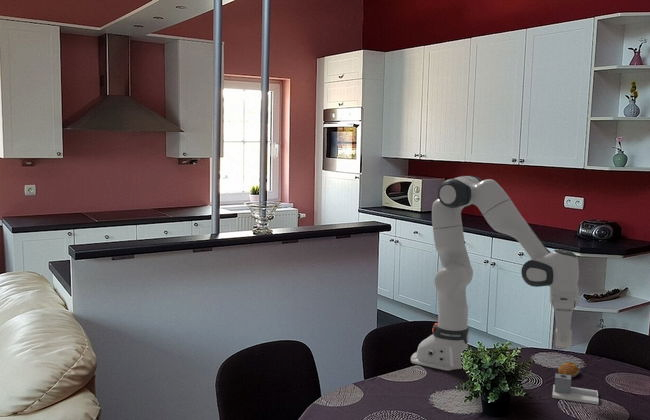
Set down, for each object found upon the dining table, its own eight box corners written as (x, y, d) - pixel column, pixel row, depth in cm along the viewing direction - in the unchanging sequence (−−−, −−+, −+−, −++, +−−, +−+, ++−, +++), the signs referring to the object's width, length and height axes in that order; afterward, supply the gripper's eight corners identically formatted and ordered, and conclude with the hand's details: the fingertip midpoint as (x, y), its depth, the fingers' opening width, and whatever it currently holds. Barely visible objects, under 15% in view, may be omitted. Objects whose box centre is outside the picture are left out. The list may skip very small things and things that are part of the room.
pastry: (573, 380, 220) (573, 370, 220) (553, 376, 224) (554, 366, 224) (580, 373, 228) (580, 363, 228) (561, 369, 232) (561, 359, 232)
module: (555, 346, 206) (555, 329, 205) (555, 343, 210) (556, 326, 209) (571, 348, 204) (571, 330, 204) (571, 344, 208) (571, 327, 207)
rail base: (552, 397, 204) (553, 378, 204) (553, 387, 214) (554, 368, 213) (598, 404, 199) (599, 384, 199) (597, 393, 208) (598, 374, 208)
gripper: (555, 291, 216) (554, 330, 218) (552, 304, 198) (552, 347, 199) (574, 292, 214) (574, 332, 215) (574, 306, 195) (573, 349, 196)
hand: (563, 339), depth 207 cm, fingers closed on module, 4 cm apart
